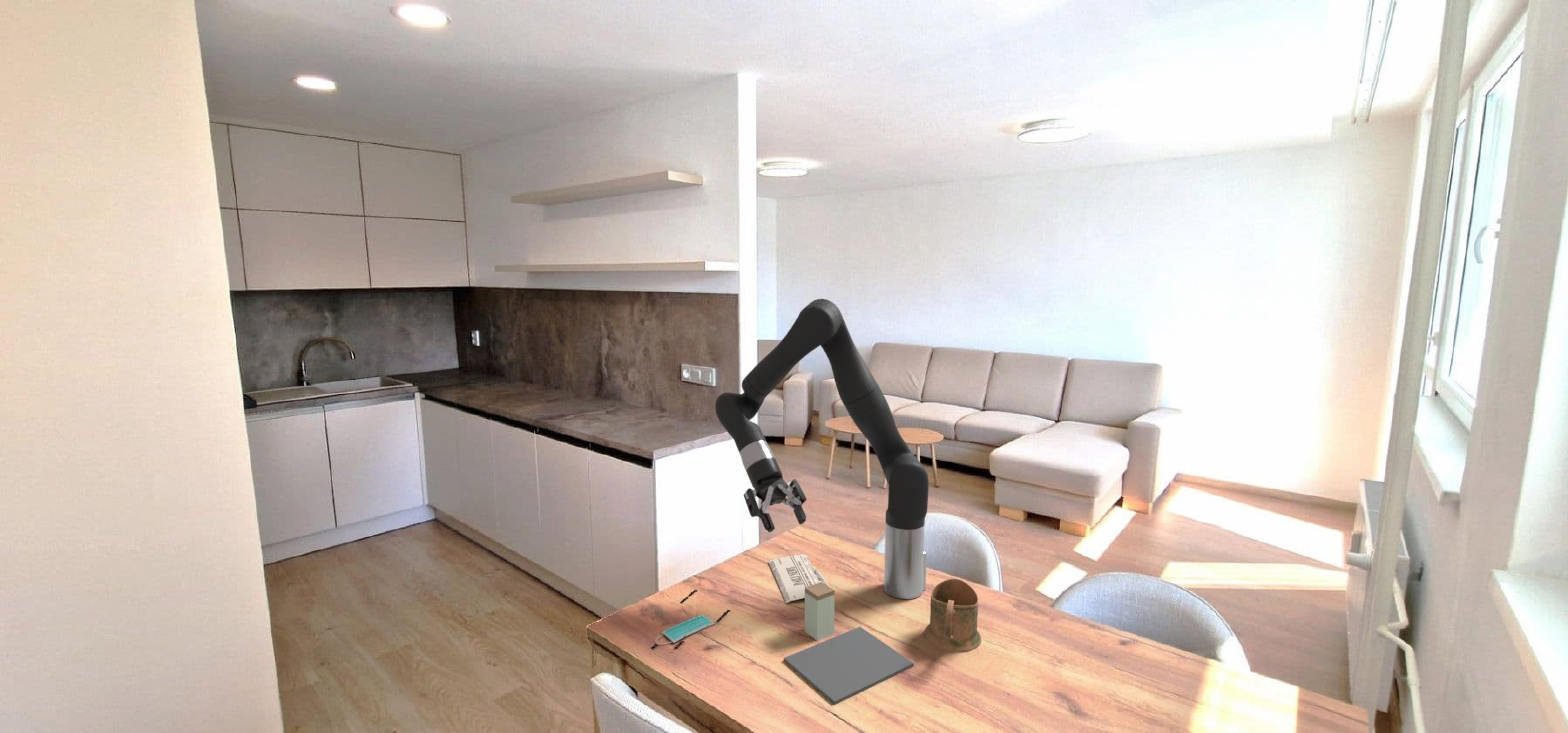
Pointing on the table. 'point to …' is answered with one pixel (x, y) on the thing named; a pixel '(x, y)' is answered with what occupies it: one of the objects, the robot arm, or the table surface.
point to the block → (819, 611)
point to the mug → (953, 617)
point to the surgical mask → (687, 627)
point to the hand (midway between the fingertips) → (787, 526)
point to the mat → (848, 664)
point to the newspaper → (795, 576)
